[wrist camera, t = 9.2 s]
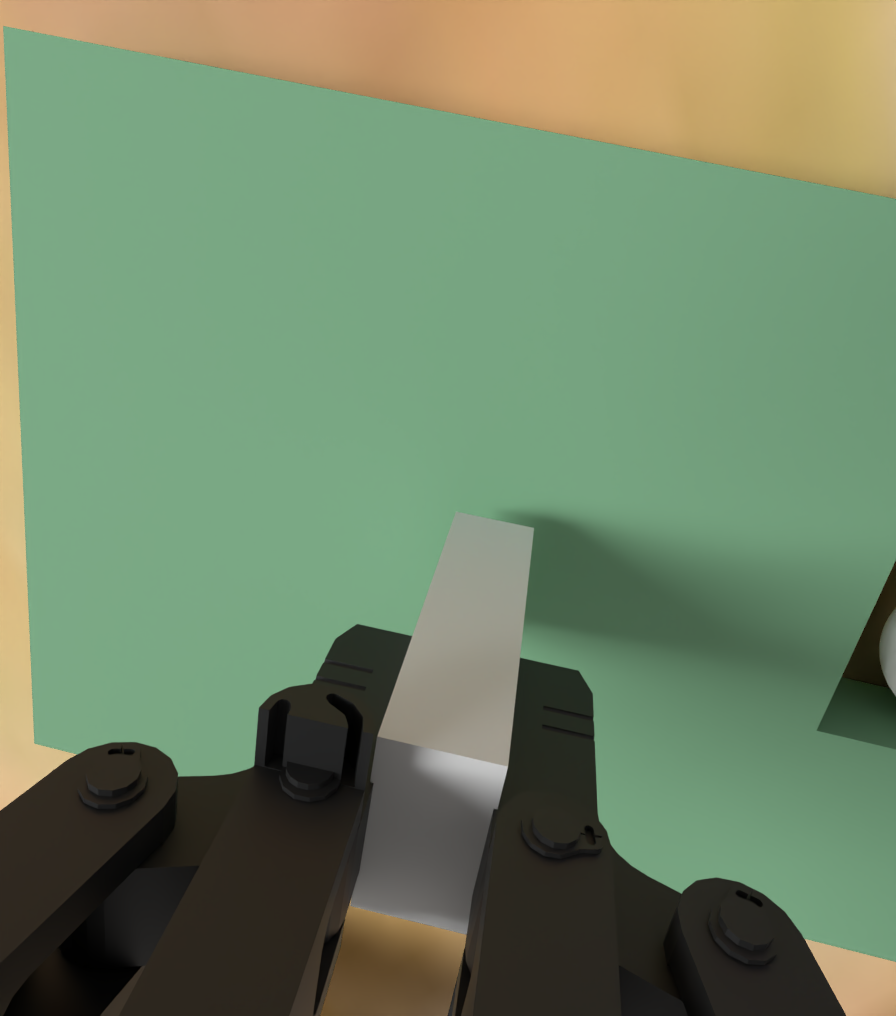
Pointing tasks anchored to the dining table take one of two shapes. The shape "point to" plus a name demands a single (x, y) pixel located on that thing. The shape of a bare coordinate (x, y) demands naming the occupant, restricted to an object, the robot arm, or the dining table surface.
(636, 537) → the green
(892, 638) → the ball
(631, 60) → the dining table surface
